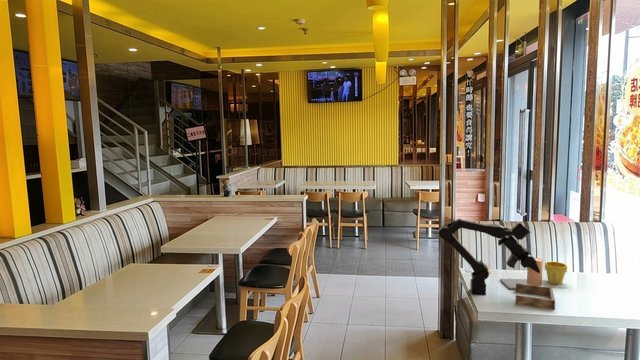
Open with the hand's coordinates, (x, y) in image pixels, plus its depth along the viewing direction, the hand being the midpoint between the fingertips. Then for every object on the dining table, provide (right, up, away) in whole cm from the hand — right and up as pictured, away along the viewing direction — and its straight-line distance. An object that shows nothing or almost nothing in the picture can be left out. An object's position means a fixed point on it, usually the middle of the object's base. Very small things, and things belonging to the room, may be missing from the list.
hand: (538, 270), depth 205 cm
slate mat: (-1, -12, +19) cm, 22 cm away
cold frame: (-2, -14, -1) cm, 14 cm away
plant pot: (+21, -11, +23) cm, 33 cm away
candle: (-1, -7, +1) cm, 7 cm away
